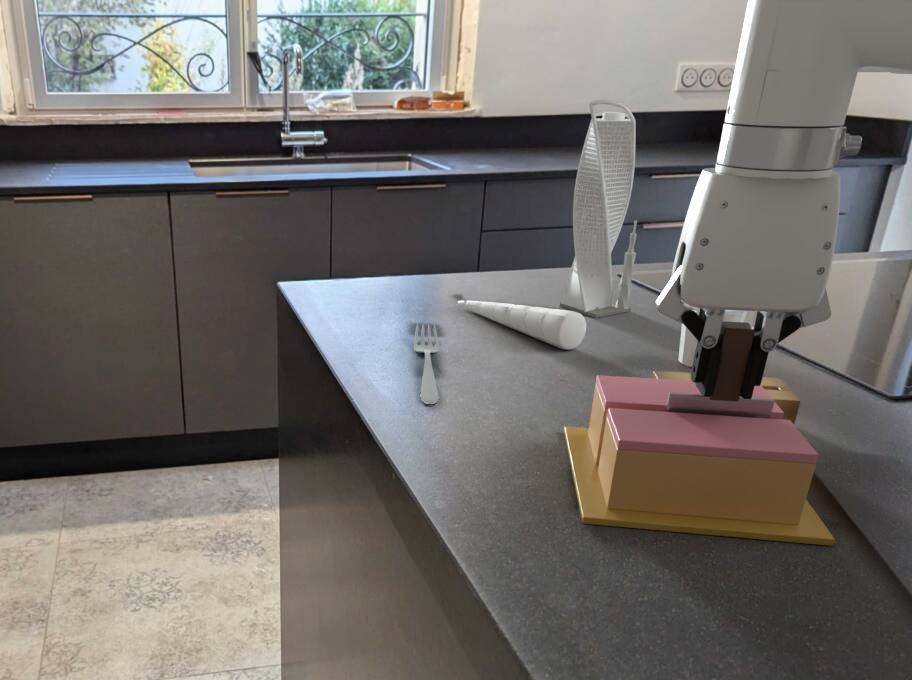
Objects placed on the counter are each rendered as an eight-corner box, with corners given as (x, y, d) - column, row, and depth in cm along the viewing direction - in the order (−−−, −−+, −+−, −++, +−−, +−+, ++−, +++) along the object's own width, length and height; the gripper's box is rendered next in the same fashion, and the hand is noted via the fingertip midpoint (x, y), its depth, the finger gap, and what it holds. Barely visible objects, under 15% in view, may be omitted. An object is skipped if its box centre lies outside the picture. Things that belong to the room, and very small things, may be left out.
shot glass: (666, 364, 98) (677, 307, 94) (680, 349, 103) (690, 294, 100) (729, 375, 94) (742, 316, 91) (739, 359, 99) (753, 302, 96)
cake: (762, 445, 77) (779, 379, 74) (833, 546, 61) (858, 466, 58) (563, 431, 80) (572, 367, 77) (582, 523, 64) (594, 447, 61)
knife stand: (770, 414, 84) (780, 377, 82) (790, 439, 78) (801, 400, 76) (646, 406, 86) (653, 370, 84) (657, 430, 80) (664, 392, 79)
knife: (751, 471, 70) (788, 324, 65) (757, 482, 68) (796, 331, 63) (652, 464, 72) (680, 319, 66) (656, 474, 70) (685, 326, 64)
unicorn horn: (479, 302, 123) (481, 270, 121) (587, 349, 103) (592, 311, 101) (452, 306, 121) (454, 273, 119) (556, 354, 101) (561, 316, 99)
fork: (414, 405, 86) (415, 389, 86) (413, 336, 108) (413, 323, 107) (445, 406, 86) (446, 390, 85) (437, 336, 108) (438, 323, 107)
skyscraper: (588, 319, 115) (619, 101, 103) (546, 305, 121) (571, 99, 109) (630, 311, 118) (665, 99, 106) (588, 298, 125) (617, 97, 113)
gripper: (877, 148, 61) (813, 382, 69) (649, 145, 64) (612, 370, 71) (925, 159, 54) (847, 416, 62) (668, 155, 57) (625, 402, 65)
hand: (722, 390), depth 67 cm, fingers closed on knife, 2 cm apart
